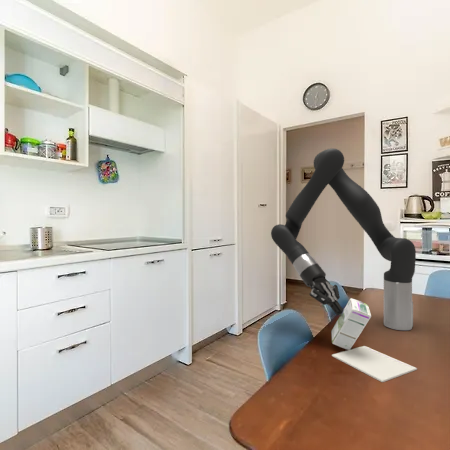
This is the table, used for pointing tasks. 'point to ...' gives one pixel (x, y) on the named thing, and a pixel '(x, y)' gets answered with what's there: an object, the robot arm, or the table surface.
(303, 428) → the table surface
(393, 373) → the off-white mat
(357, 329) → the syrup box
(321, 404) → the table surface
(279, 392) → the table surface
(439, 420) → the table surface
